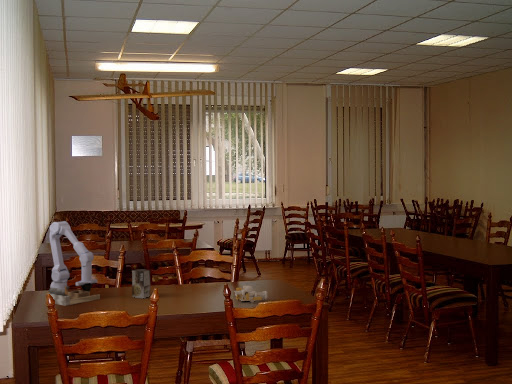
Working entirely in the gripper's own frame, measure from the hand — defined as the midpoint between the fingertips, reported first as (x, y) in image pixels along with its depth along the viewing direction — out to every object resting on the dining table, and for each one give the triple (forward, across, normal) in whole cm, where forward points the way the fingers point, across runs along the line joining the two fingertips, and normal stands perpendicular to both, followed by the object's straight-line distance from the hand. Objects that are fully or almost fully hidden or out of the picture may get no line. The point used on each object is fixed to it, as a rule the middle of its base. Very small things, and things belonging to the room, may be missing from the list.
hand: (86, 296), depth 396 cm
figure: (+2, +52, -79) cm, 95 cm away
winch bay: (+1, -9, 0) cm, 9 cm away
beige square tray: (+1, -6, 0) cm, 6 cm away
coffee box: (+2, +24, -21) cm, 31 cm away
